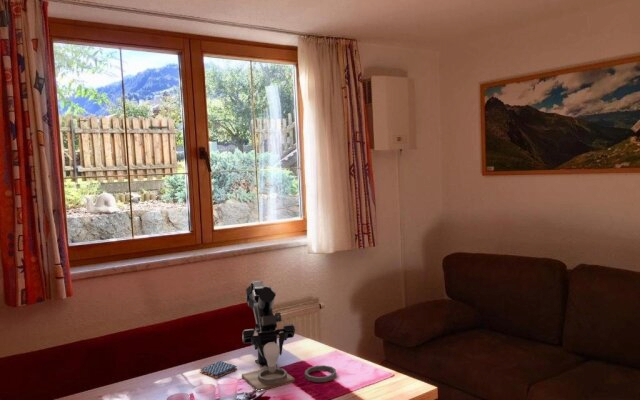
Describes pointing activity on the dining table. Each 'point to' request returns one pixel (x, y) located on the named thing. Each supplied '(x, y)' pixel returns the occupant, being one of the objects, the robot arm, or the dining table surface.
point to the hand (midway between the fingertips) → (272, 355)
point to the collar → (320, 379)
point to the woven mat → (218, 369)
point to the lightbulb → (271, 355)
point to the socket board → (267, 378)
